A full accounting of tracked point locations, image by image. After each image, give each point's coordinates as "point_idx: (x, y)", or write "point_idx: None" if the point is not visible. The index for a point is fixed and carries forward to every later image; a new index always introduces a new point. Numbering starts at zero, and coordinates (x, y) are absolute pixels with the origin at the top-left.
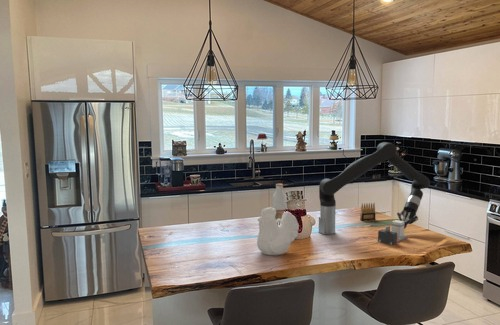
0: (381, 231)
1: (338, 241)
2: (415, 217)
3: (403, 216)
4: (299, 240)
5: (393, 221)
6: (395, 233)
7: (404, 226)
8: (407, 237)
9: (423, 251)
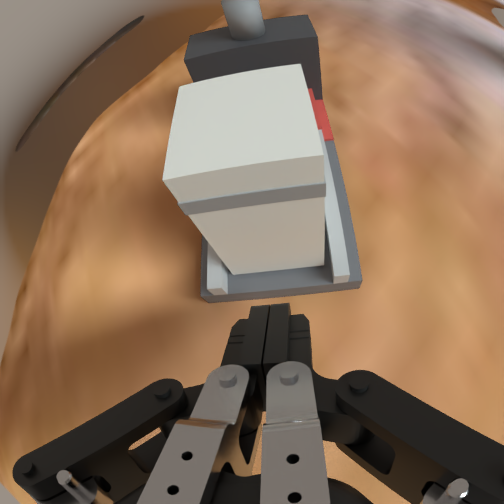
0: (283, 17)
1: (439, 32)
2: (43, 456)
3: (310, 444)
4: (483, 7)
5: (289, 73)
6: (187, 48)
7: (243, 327)
8: (204, 293)
9: (76, 177)
